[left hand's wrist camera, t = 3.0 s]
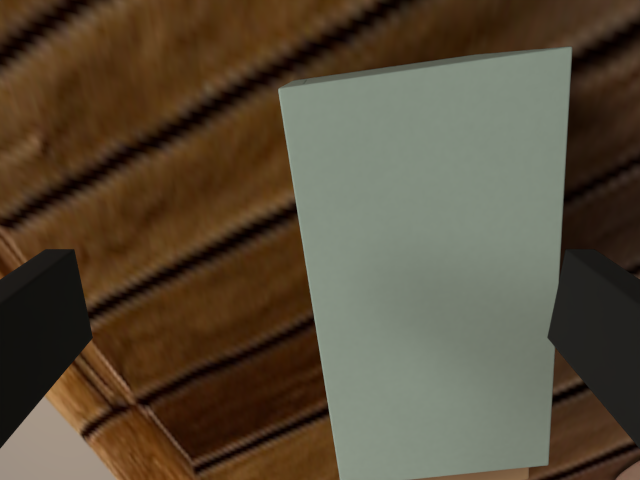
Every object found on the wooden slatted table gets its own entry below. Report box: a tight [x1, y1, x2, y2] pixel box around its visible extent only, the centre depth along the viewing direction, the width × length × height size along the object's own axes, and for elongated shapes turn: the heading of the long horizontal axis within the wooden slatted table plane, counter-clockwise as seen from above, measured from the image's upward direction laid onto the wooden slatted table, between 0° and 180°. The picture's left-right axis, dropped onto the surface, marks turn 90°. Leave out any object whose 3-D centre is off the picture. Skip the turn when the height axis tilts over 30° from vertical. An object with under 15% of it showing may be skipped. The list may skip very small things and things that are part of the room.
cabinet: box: [278, 47, 572, 480], centre depth 27 cm, size 22×12×12 cm, turn 8°
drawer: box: [410, 467, 529, 480], centre depth 29 cm, size 26×10×10 cm, turn 8°
